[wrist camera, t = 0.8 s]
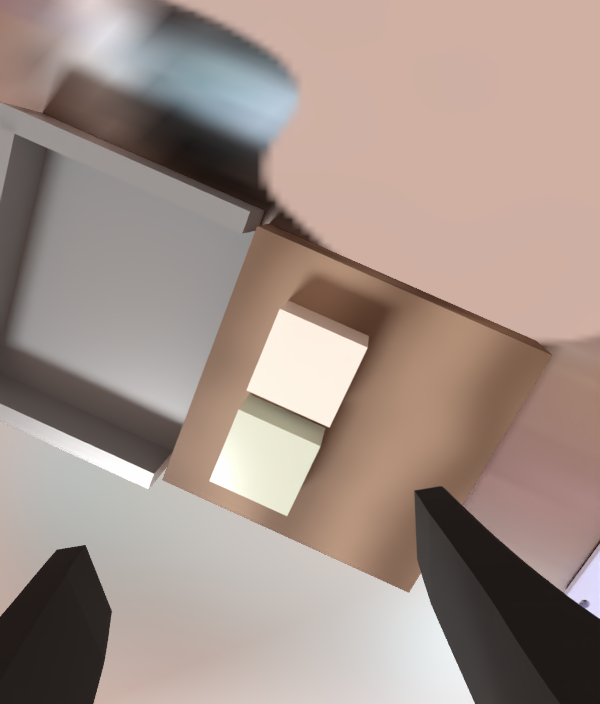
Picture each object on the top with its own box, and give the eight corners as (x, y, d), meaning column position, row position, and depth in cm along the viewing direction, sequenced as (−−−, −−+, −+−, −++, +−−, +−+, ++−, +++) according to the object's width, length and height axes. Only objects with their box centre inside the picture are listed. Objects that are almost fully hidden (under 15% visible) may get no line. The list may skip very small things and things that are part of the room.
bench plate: (536, 340, 25) (552, 355, 23) (406, 561, 29) (408, 592, 27) (268, 224, 26) (257, 226, 23) (179, 458, 30) (162, 480, 27)
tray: (265, 210, 25) (249, 211, 22) (170, 462, 30) (148, 489, 27) (41, 112, 26) (-2, 101, 23) (-18, 376, 30) (-60, 394, 27)
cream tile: (368, 336, 24) (367, 347, 22) (333, 410, 25) (329, 427, 23) (287, 300, 24) (279, 308, 22) (256, 375, 25) (246, 390, 23)
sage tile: (325, 428, 25) (320, 446, 23) (293, 493, 26) (286, 516, 25) (249, 393, 25) (238, 409, 23) (221, 460, 27) (209, 480, 25)
